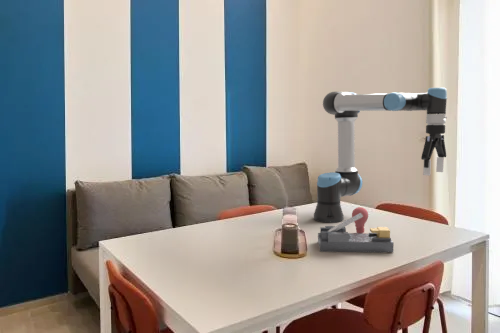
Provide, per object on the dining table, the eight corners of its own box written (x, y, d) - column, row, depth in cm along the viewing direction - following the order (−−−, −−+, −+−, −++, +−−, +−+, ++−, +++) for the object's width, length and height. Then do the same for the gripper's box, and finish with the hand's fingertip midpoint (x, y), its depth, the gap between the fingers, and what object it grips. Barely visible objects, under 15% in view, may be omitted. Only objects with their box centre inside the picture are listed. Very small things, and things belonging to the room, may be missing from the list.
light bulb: (349, 234, 186) (350, 208, 184) (353, 230, 192) (354, 205, 190) (365, 236, 182) (366, 209, 181) (369, 232, 189) (370, 206, 187)
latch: (371, 239, 165) (372, 230, 164) (369, 235, 169) (369, 226, 169) (389, 239, 164) (390, 230, 163) (386, 235, 169) (387, 227, 168)
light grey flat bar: (324, 237, 167) (323, 235, 167) (323, 235, 170) (322, 233, 170) (363, 216, 165) (362, 214, 165) (361, 214, 168) (360, 212, 168)
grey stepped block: (320, 251, 163) (320, 234, 162) (317, 242, 175) (318, 225, 174) (393, 252, 161) (393, 235, 160) (385, 243, 173) (386, 226, 172)
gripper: (432, 125, 166) (430, 177, 169) (455, 123, 183) (453, 171, 186) (414, 124, 172) (412, 175, 174) (438, 123, 189) (436, 169, 191)
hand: (433, 173), depth 180 cm, fingers open, 13 cm apart
